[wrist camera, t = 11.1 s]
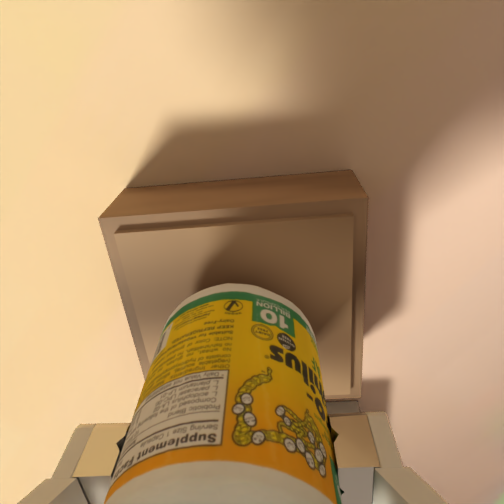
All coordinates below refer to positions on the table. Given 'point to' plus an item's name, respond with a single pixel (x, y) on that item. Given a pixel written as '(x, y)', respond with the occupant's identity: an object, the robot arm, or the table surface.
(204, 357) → the supplement bottle
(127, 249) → the walnut riser
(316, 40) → the table surface
